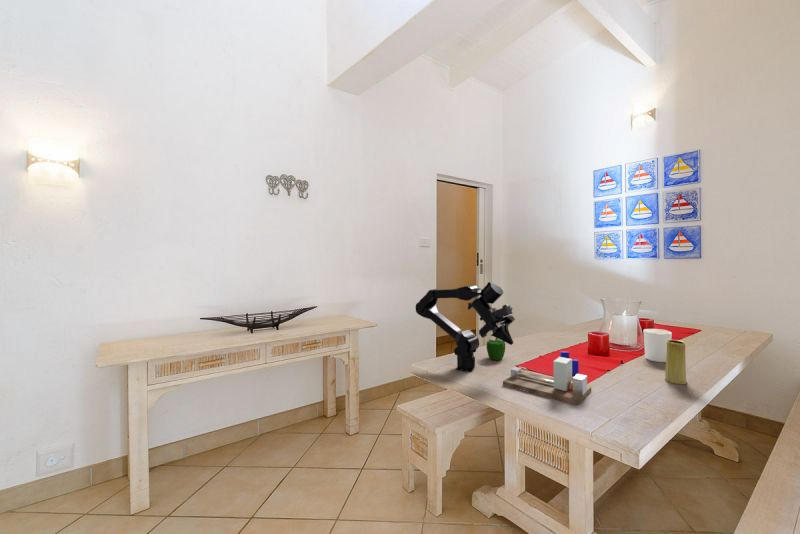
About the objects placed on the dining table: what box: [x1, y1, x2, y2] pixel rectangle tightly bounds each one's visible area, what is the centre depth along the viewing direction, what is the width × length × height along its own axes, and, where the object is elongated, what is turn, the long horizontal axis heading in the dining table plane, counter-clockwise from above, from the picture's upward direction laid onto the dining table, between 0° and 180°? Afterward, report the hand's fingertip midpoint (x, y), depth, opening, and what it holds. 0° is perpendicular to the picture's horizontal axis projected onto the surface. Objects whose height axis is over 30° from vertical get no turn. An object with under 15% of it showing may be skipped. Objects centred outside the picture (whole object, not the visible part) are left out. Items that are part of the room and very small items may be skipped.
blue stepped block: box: [559, 351, 580, 375], centre depth 137 cm, size 12×4×6 cm, turn 172°
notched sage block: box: [552, 356, 573, 391], centre depth 117 cm, size 4×6×9 cm, turn 137°
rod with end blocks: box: [510, 366, 588, 396], centre depth 121 cm, size 24×5×6 cm, turn 47°
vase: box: [664, 339, 687, 385], centre depth 123 cm, size 6×6×14 cm
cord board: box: [502, 370, 592, 406], centre depth 121 cm, size 25×14×2 cm, turn 47°
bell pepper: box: [486, 337, 506, 361], centre depth 155 cm, size 8×8×10 cm
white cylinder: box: [642, 328, 673, 363], centre depth 148 cm, size 10×10×12 cm
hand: (512, 344), depth 129 cm, fingers closed
